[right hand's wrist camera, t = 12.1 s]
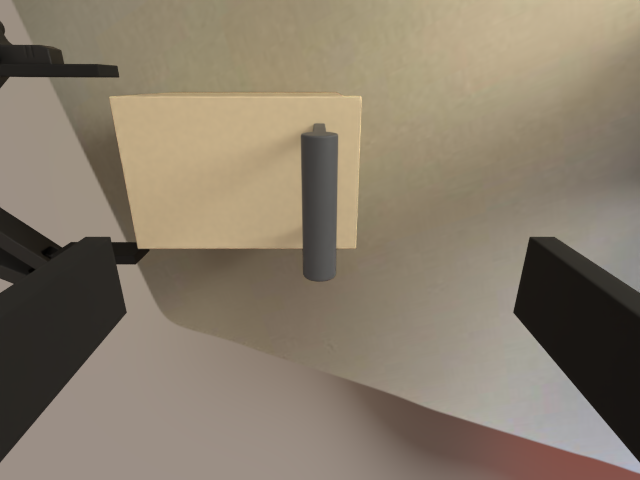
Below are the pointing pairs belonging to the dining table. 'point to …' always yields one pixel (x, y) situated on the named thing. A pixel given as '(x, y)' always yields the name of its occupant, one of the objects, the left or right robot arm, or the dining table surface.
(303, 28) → the dining table surface
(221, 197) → the lid
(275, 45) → the dining table surface
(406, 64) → the dining table surface
